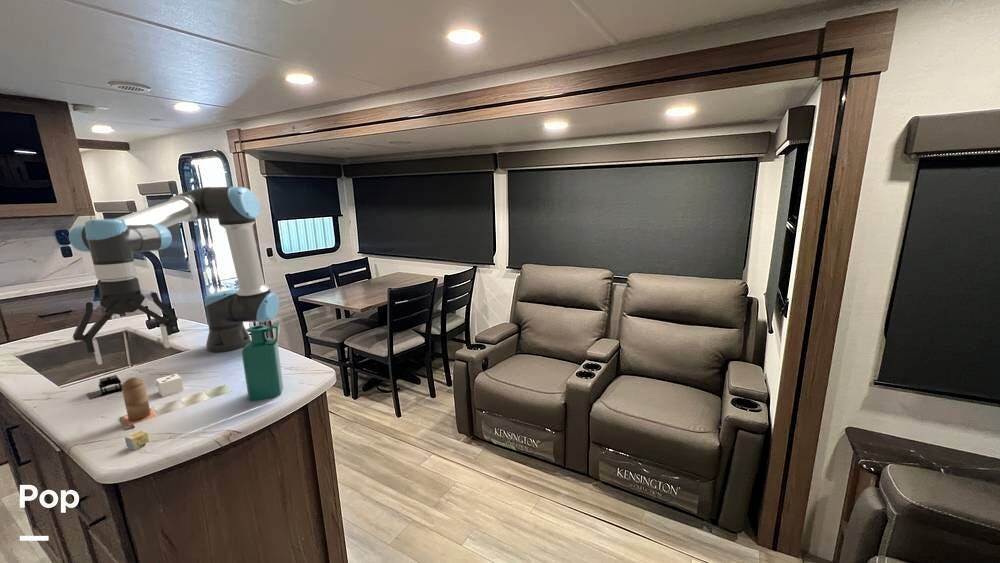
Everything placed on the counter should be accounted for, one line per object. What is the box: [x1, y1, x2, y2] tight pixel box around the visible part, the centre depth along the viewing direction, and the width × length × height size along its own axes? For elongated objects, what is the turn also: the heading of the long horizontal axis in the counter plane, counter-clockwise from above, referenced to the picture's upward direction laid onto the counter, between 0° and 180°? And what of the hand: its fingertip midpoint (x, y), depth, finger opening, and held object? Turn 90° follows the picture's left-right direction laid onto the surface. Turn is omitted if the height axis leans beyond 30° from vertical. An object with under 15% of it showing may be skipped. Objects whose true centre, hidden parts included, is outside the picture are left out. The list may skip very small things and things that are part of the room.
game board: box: [119, 384, 234, 431], centre depth 110 cm, size 25×9×1 cm, turn 142°
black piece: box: [86, 374, 124, 401], centre depth 119 cm, size 13×8×5 cm, turn 142°
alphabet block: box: [124, 430, 150, 451], centre depth 91 cm, size 3×3×3 cm
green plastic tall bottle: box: [241, 321, 284, 402], centre depth 113 cm, size 10×8×22 cm
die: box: [155, 373, 184, 398], centre depth 117 cm, size 5×5×5 cm
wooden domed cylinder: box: [121, 377, 151, 421], centre depth 102 cm, size 4×4×11 cm
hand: (135, 354), depth 103 cm, fingers open, 13 cm apart
